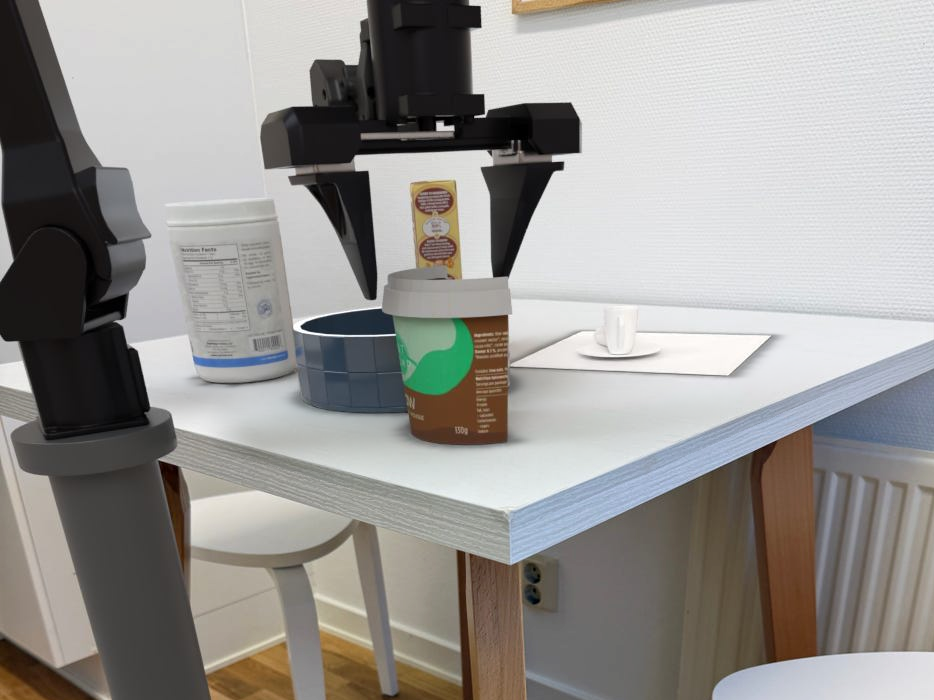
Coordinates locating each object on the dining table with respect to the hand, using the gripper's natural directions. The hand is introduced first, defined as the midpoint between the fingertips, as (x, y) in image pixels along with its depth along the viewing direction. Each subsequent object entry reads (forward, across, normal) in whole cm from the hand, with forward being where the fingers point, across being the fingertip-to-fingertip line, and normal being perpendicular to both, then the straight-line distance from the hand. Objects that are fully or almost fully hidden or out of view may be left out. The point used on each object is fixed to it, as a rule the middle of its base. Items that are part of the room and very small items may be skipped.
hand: (437, 292), depth 56 cm
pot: (+9, -4, -15) cm, 18 cm away
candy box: (+9, -14, -28) cm, 33 cm away
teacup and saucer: (+9, -29, -15) cm, 34 cm away
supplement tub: (+9, +5, -31) cm, 33 cm away
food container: (+9, 0, 0) cm, 9 cm away
